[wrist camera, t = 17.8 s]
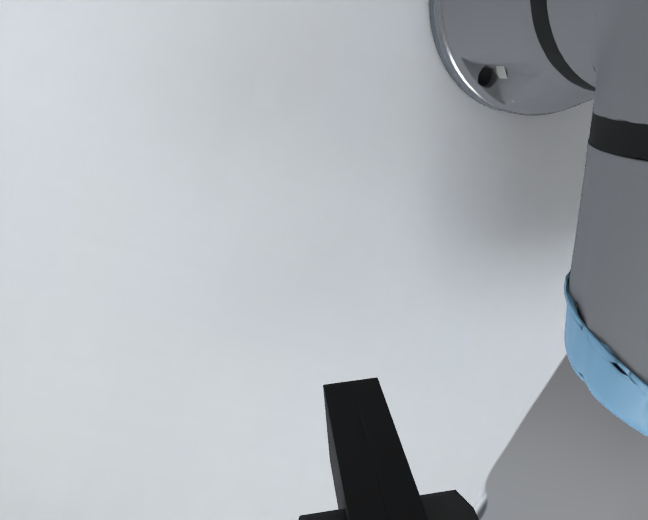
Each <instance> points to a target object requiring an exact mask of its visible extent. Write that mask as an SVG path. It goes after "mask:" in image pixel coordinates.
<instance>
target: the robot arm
mask: <svg viewBox="0 0 648 520" xmlns="http://www.w3.org/2000/svg"><path fill="white" fill-rule="evenodd" d="M430 19H431V27H432V32H433V36H434V41H435V44H436V47H437V50H438V53H439V55H440V57H441V60H442V62H443V64H444V66H445V67H446V69H447V71H448V72H449V74H450V75H451V77H452V78H453V80H454V81H455V82H456V83H457V84H458V86H459V87H460V88H461V89H462V90H463V91H464V92H466V93H467V94H468V95H469V96H470V97H472V98H473V99H475V100H476V101H478V102H479V103H481V104H483V105H485V106H487V107H490V108H492V109H496V110H499V111H503V112H509V113H515V114H521V115H545V114H550V113H555V112H558V111H562V110H565V109H568V108H571V107H574V106H576V105H579V104H581V103H584V102H587V101H589V100H592V99H594V105H593V114H592V121H591V129H590V136H589V140H588V147H587V155H586V164H585V172H584V180H583V187H582V194H581V201H580V208H579V215H578V222H577V229H576V237H575V244H574V251H573V258H572V265H571V270H570V272H569V273H568V274H567V275H566V279H565V283H564V293H565V298H566V302H567V310H566V323H565V347H566V352H567V355H568V358H569V360H570V363H571V365H572V367H573V369H574V371H575V372H576V374H577V375H578V376H579V377H580V378H581V379H582V380H583V381H584V382H585V383H586V384H587V386H588V388H589V390H590V392H591V393H592V395H593V396H594V397H595V398H596V399H597V400H598V401H599V402H600V403H601V404H603V405H604V406H605V407H606V408H607V409H608V410H609V411H611V412H612V413H613V414H614V415H616V416H617V417H618V418H620V419H621V420H622V421H624V422H625V423H627V424H628V425H630V426H631V427H633V428H634V429H636V430H637V431H639V432H641V433H642V434H644V435H646V436H647V437H648V0H430ZM323 388H324V399H325V410H326V421H327V432H328V443H329V454H330V463H331V469H332V474H333V480H334V486H335V491H336V497H337V503H338V509H339V510H333V511H327V512H320V513H314V514H308V515H301V516H300V517H299V520H479V519H478V517H477V515H476V512H475V510H474V508H473V507H472V506H471V505H470V504H469V503H468V502H467V501H466V500H465V499H464V498H463V497H462V496H461V495H460V494H459V493H458V492H457V491H456V490H451V491H445V492H438V493H432V494H426V495H419V492H418V490H417V487H416V484H415V481H414V478H413V476H412V473H411V470H410V467H409V464H408V462H407V459H406V456H405V453H404V451H403V448H402V445H401V442H400V439H399V437H398V434H397V431H396V428H395V425H394V423H393V420H392V417H391V414H390V411H389V409H388V406H387V403H386V400H385V398H384V395H383V392H382V389H381V386H380V384H379V381H378V378H370V379H363V380H356V381H349V382H341V383H334V384H327V385H323Z"/></svg>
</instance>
